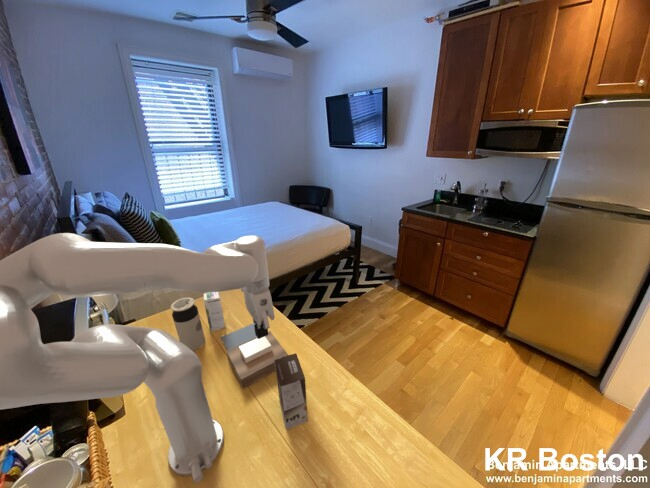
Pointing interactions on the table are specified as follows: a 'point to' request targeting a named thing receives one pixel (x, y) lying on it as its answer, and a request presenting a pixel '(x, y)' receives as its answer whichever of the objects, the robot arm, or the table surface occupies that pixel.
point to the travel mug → (188, 323)
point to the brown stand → (255, 362)
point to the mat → (239, 336)
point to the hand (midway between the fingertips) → (262, 335)
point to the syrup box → (214, 311)
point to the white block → (255, 349)
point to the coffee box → (291, 390)
